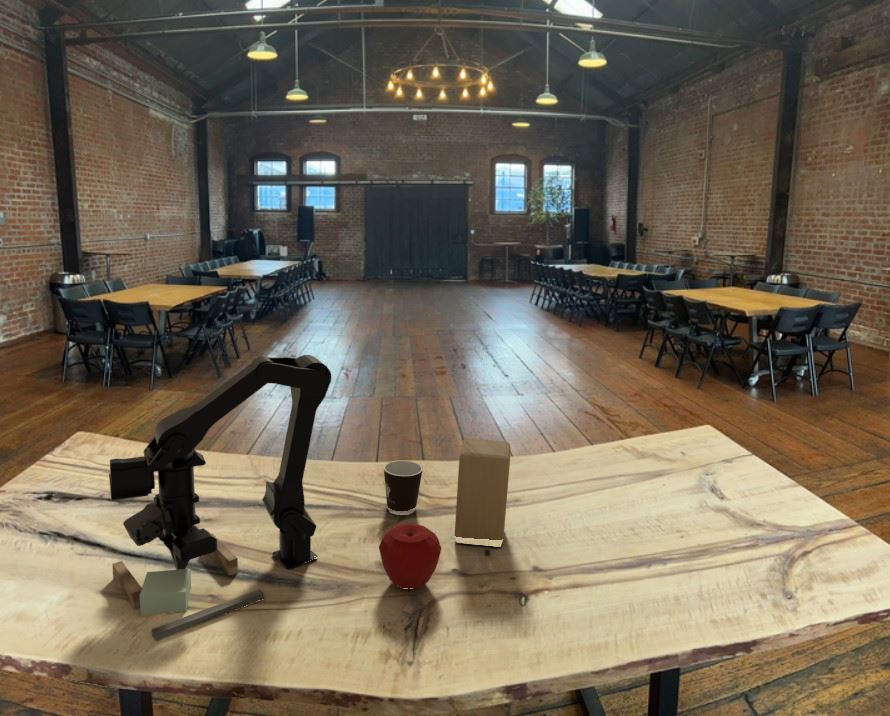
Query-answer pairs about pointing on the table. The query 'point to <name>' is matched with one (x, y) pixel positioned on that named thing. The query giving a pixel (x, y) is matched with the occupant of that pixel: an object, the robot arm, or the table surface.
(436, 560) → the apple
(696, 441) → the table surface
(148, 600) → the sage block
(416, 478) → the coffee mug
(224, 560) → the set of wooden bars
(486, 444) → the wooden block
